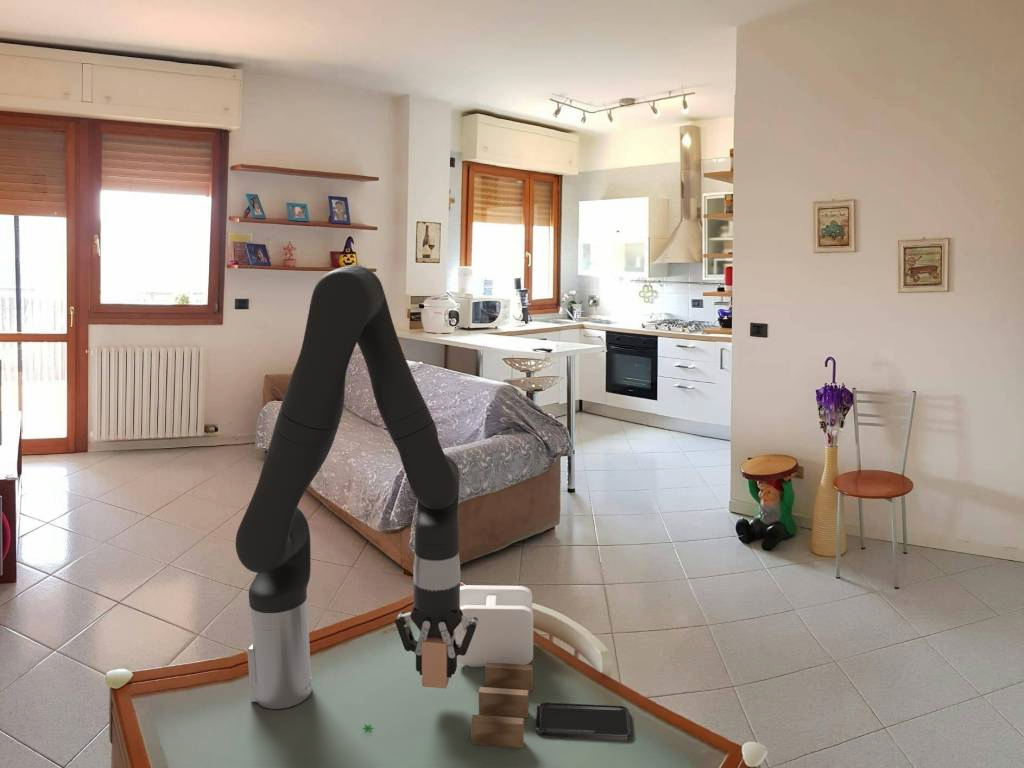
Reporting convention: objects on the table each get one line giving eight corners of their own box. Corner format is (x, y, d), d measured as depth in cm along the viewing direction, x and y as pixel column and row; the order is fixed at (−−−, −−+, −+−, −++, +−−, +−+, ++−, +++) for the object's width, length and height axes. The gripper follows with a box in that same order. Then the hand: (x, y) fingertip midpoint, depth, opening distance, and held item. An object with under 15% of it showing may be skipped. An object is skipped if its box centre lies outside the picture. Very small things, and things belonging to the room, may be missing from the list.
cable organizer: (450, 668, 141) (449, 608, 138) (455, 638, 151) (454, 582, 149) (532, 669, 140) (533, 610, 138) (532, 639, 151) (533, 583, 148)
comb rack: (471, 743, 120) (471, 720, 119) (486, 683, 136) (486, 662, 135) (522, 747, 119) (522, 724, 118) (532, 686, 135) (532, 665, 134)
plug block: (422, 686, 127) (421, 642, 126) (427, 672, 131) (427, 629, 130) (445, 688, 127) (446, 643, 125) (450, 674, 131) (450, 631, 129)
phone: (537, 702, 129) (628, 706, 128) (537, 708, 129) (628, 712, 128) (535, 732, 122) (631, 736, 120) (535, 738, 122) (631, 743, 121)
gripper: (387, 585, 123) (388, 683, 126) (476, 591, 121) (475, 690, 125) (399, 565, 130) (400, 658, 133) (483, 570, 128) (482, 664, 132)
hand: (436, 673), depth 129 cm, fingers closed on plug block, 4 cm apart
